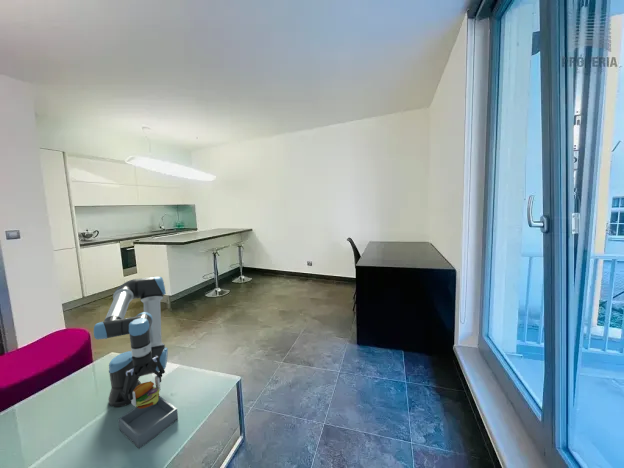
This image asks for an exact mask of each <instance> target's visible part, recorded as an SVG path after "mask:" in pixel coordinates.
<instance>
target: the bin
mask: <svg viewBox="0 0 624 468" xmlns="http://www.w3.org/2000/svg"><path fill="white" fill-rule="evenodd" d="M178 413H179V412H178V407H176V406H174V405H173V404H172V403H170V402H169V401H167V399H164V398H163V397H162V396H161V395H159V399H158V402H157V403H156V404H154V405H151V406H149V407H146V408H142V409H140V408H137V407H136V406H135V408H133V409H132V410H130V411H128V412H127V413H125V414H124V415H122V416H121V417H119V418H118V419H117V420H118V427H119V431H120V432H121V433H122V434H123V435H124V436H125V437H126V438H128V439H129V441H130V442H131V443H132V444H134V445H135V446H136V447H137V448H138V450H140V449H141V448H143V447H144V446H146V445H147V444H148V443H150V441H151V440H153V439H155V438H156V437H157V436H158V435H160V434H161V433H162V432H163V431H165V430H166V429H167V428H168V427H170V426H172V425H173V424H174V423H175V422H177V421H178V420H179V416H178Z"/></svg>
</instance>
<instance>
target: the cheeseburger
mask: <svg viewBox="0 0 624 468" xmlns="http://www.w3.org/2000/svg"><path fill="white" fill-rule="evenodd" d="M160 391H161V390H159V389H157V388H156V386H155V382H153V381H145V382H142V383H141V384H139V385H138V386H137V387H136V388H135V389H134V392H135V397H136V406H135V408H136V407H137V408H140V409H142V408H146V407H149V406H151V405H154V404H156V403H157V402H158V399H159V396H160Z"/></svg>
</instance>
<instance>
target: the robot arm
mask: <svg viewBox="0 0 624 468" xmlns="http://www.w3.org/2000/svg"><path fill="white" fill-rule="evenodd" d="M166 294H167V293H166V285H165V281H164V279H163V277H162V276H151V277H150V276H149V277H143V278H133V279H130V280H127V281H126V282H124V283H122V284H120V285H119V287H117V289H116V290H115V291H114V293H113V294H112V298H113V300H112V302H111V305H110V307H109V308H108V311H107V314H106V316H105V318H104V320H103V321H100V322H97V323H95V324H94V326H93V338H95V340H107V339H110V338H111V339H112V338H115V337H116V338H117V337H121V336H125V335H129V340H130V350H129V351H124V352H122V353H119V354H118V355H116V356H115V357H113V358H112V359H111V360H110V362H109V363H108V373H109V379H110V388H111V389H110V392H109V395H108V405H110V406H111V407H113V406H114V407H113V408H117V407H118V408H120V407H125V406H127V405H129V404H132V406H134V407H136V397H135V392H134V389H135V388H136V387H137V386H138V385H139V384H141V381H140V377H143V376H147V375H151V374H155V376H154V386H155V388H157V389H159V390H160V391H161V383H162V377H163V374H165V373H166V370H165V369H166V367H167V364H168V352H169V348H168V347H166V345H165V344H164V343H163V341H162V312H161V308H162V307H161V301H162V300H163V299H164V295H166ZM135 299H140V301H141V302H142V303H143V312H140V313H138V314H137V315H136V316H131V317H130V316H129V317H125V316H126V313H127V311H128V308H129V304H130V302H132V301H133V300H135Z"/></svg>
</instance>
